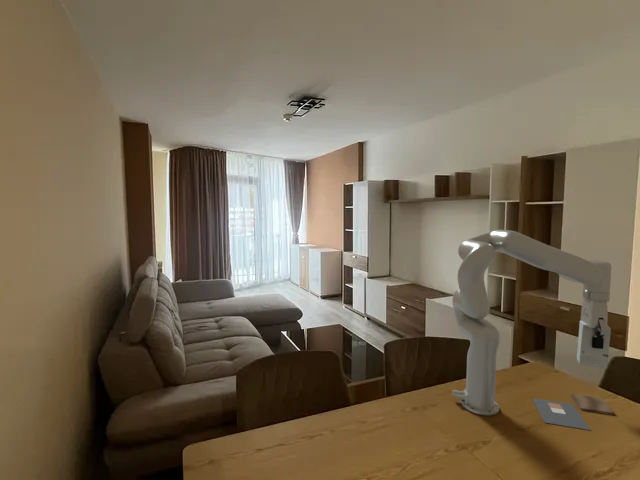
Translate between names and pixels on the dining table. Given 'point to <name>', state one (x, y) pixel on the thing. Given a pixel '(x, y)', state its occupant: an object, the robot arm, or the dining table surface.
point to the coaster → (592, 404)
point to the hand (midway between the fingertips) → (593, 344)
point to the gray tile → (560, 414)
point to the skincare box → (589, 354)
